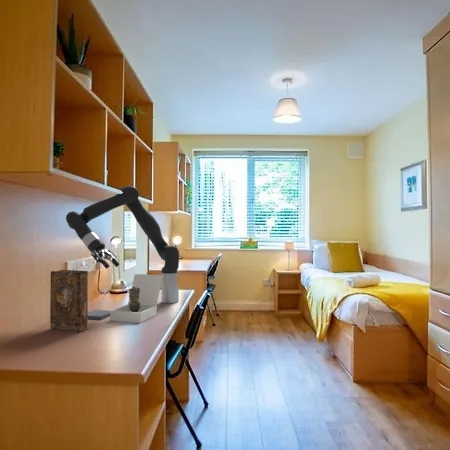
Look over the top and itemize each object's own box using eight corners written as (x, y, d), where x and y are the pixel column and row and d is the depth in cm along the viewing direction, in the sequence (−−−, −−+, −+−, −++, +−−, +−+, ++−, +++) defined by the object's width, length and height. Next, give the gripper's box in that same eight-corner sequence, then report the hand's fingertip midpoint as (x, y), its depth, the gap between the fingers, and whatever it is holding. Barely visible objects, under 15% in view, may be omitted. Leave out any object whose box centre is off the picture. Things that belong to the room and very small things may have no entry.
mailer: (135, 309, 192) (135, 274, 193) (162, 311, 188) (162, 275, 188) (110, 320, 170) (110, 279, 171) (140, 322, 166) (140, 281, 166)
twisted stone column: (129, 319, 172) (129, 287, 172) (127, 316, 177) (127, 286, 177) (140, 318, 174) (140, 287, 175) (138, 315, 179) (138, 285, 180)
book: (89, 329, 155) (89, 271, 156) (80, 332, 150) (80, 272, 151) (60, 325, 161) (60, 269, 161) (50, 328, 156) (50, 271, 156)
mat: (94, 312, 186) (94, 309, 186) (115, 314, 183) (115, 311, 183) (79, 318, 175) (79, 314, 175) (101, 319, 172) (101, 316, 172)
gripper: (89, 238, 175) (109, 262, 172) (106, 237, 189) (125, 260, 185) (79, 249, 176) (99, 273, 173) (97, 247, 190) (116, 270, 187)
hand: (113, 266), depth 179 cm, fingers open, 8 cm apart
